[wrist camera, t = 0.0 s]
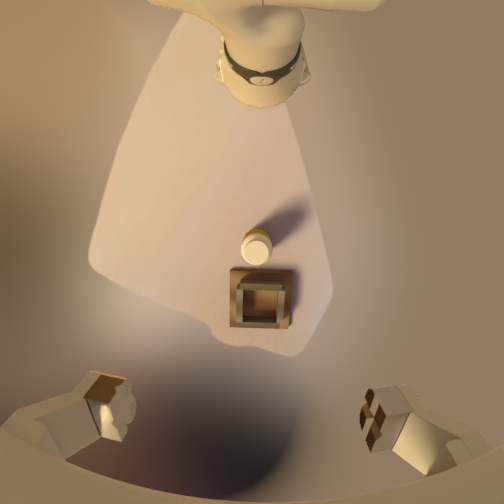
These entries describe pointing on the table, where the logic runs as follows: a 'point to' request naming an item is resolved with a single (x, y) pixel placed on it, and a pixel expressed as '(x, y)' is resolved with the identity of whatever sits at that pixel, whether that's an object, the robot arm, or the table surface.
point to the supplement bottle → (256, 247)
